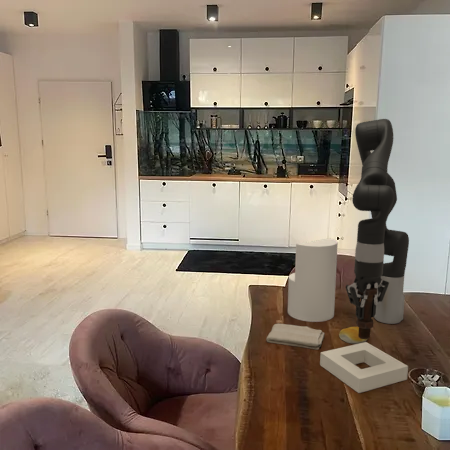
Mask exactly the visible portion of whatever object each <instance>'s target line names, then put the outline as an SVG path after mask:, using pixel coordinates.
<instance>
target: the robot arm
mask: <svg viewBox="0 0 450 450" xmlns="http://www.w3.org/2000/svg"><path fill="white" fill-rule="evenodd" d="M354 131H355V132H354V133H355V135H354V136H355V141H356V145H357V148H358V149H357V150H358V154H359V157H360V161H361V165H362V166H361V176H360V180H359V182H358V183H357V185H356V187H355V189H354V190H353V193H352V204H353V206H354V207H355V209H356V210H357V211H361V212H370V215H371V218H367V219H362V220H360V221H359V222H358V224H357V237H356V245H355V251H354V253H355V254H354V270H353V272H354V276H355V278H354V280H353V283H351V284H350V285H349V284H346V285H345V291H346V294H347V297H348V300H349V303H350V304H352V305H353V306H355V317H356V319H357V318H358V319H360V320H362V319H364V304H365V300H366V299H367V295H366V290H370V288H374V289H375V288H377V295H373V301H372V315H371V318H374V319H375V320H376V321H378V322H380V323H383V324H389V325H391V324H392V325H393V324H395V325H396V324H400V323H401V321H404V311H405V299H406V298H405V297H406V295H405V293H404V286H405V272H406V268H407V260H408V253H409V248H410V247H409V245H410V237H409V235H408V233H407V232H405V231H401V230H395V229H389V228H388V226H387V221H388V217H389V216H390V214H391V213H392V211H393V210H394V208H395V206H396V204H397V200H398V197H397V196H398V194H397V187H396V182H395V181H394V178H393V177H392V176H391V174H389V172H388V165H389V161H390V157H391V153H392V149H393V144H394V129H393V125H392V122H391V121H390V119H388V118H378V119H373V120H368V121H364V122H363V121H362V122H359V123H357V124H356V126H355V130H354ZM371 151H372V152H371ZM385 256H390V257H393V259H392V261H391V262H385V261H384V257H385ZM358 290H359V291H360V292H361V293H363V291H364V293H363V295H361V294H359V293H358Z"/></svg>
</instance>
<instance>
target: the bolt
mask: <svg viewBox="0 0 450 450" xmlns="http://www.w3.org/2000/svg"><path fill="white" fill-rule="evenodd" d="M358 293H359V294H361V295H363V293H364V291H363V293H361V292H360V291H359V290H358ZM366 295H367V299H366V300H365V304H364V319H362V320H360V319H358V318H357V317H356V327H359V334H358V337H359V338H360V339H367V340H369V339H370V338H371V330H372V328H374V319H373V318H372V317H371V315H372V301H373V295H377V288H375V289H374V288H370V290H366Z"/></svg>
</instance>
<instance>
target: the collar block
mask: <svg viewBox="0 0 450 450" xmlns="http://www.w3.org/2000/svg"><path fill="white" fill-rule="evenodd" d="M319 357H320V358H319V359H320V361H319V365H320V367H322V368H324V369H325V370H326V371H327V372H329V373H331V374H332V375H333V376H334V377H336V378H337V379H339V381H341V382H343V383H344V384H345V385H346V386H348V387H349V388H351V389H352V390H354V391H355V392H357V394H361V393H364V392H368V391H372V390H375V389H378V388H382V387H385V386H390V385H392V384H395V383H398V382H399V383H400V382H403V381H407V380H408V372H409V365H407V364H405V363H403V362H402V361H400V360H398V359H396V358H395V357H393V356H391V355H390V354H388V353H386V352H384V351H382V350H381V349H379V348H377V347H376V346H374V345H372V344H370V343H368V342H367V341H364V342H361V343H357V344H352V345H347V346H343V347H338V348H333V349H329V350H325V351H321V352H320V356H319ZM361 363H364V364H366V365H368V366H369V367H365V368H360V367H359V366H357V365H358V364H361Z"/></svg>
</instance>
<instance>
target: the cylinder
mask: <svg viewBox="0 0 450 450" xmlns="http://www.w3.org/2000/svg"><path fill="white" fill-rule="evenodd" d="M338 243H339V242H338V240H336V239H335V238H331V237H329V238H322V239H317V240H311V241H306V242H299V243H296V244H295V265H294V266H295V267H294V272H292V273H291V274H289V276H288V289H287V290H288V292H287V314H288V315H289V316H290V317H291V318H293V319H296V320H299V321H303V322H309V323H310V322H311V323H315V322H316V323H318V322H326V321H329V320H331V319H333V318H334V316H335V303H336V286H337V285H336V283H337V280H336V279H337V264H338V262H337V261H338Z"/></svg>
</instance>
